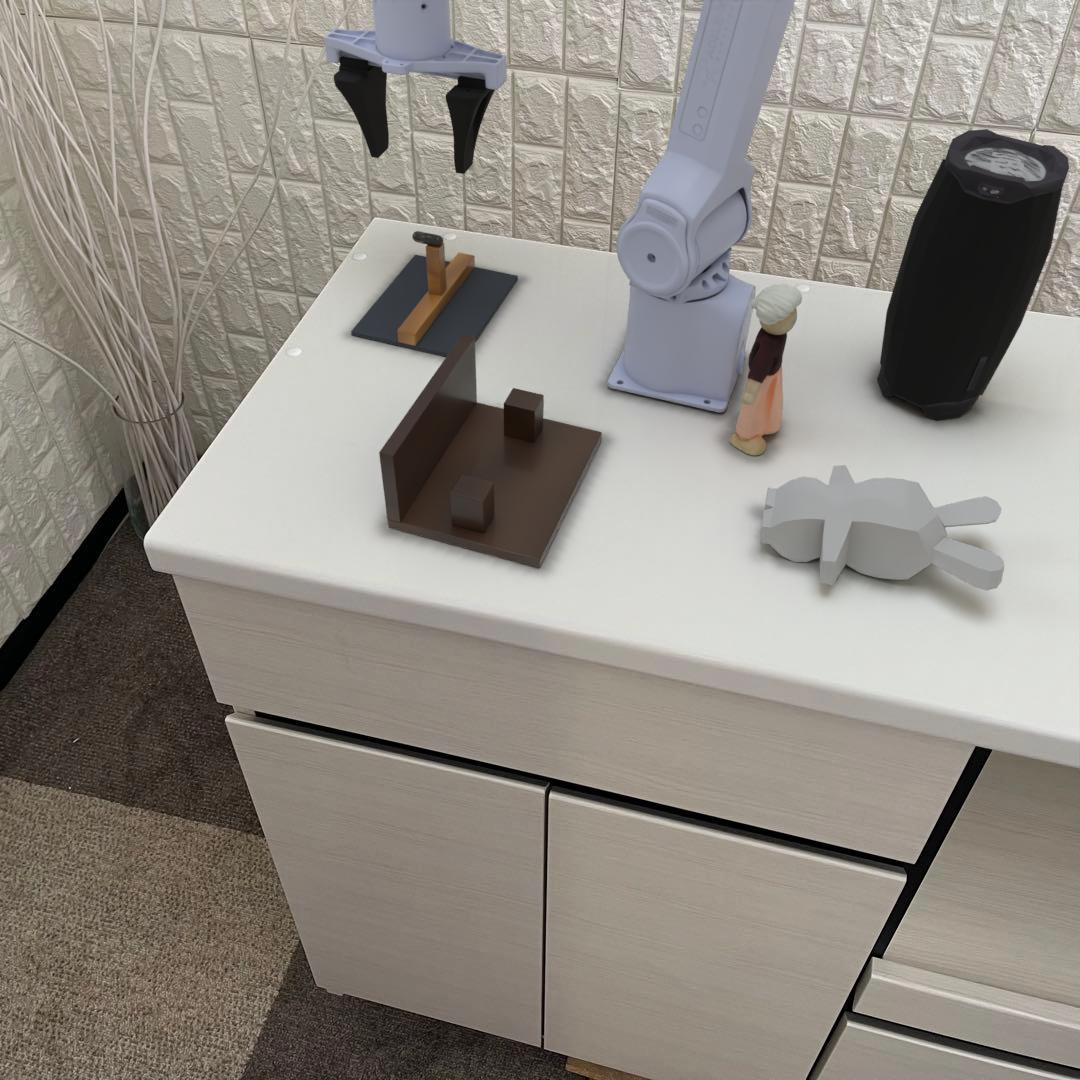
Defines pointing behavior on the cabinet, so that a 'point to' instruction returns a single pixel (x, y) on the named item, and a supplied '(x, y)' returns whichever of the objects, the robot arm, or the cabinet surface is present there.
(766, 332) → the grandmother figurine
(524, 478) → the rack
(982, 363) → the portable speaker
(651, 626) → the cabinet surface
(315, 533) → the cabinet surface
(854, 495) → the bunny figurine
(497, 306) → the pad
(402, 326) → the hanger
